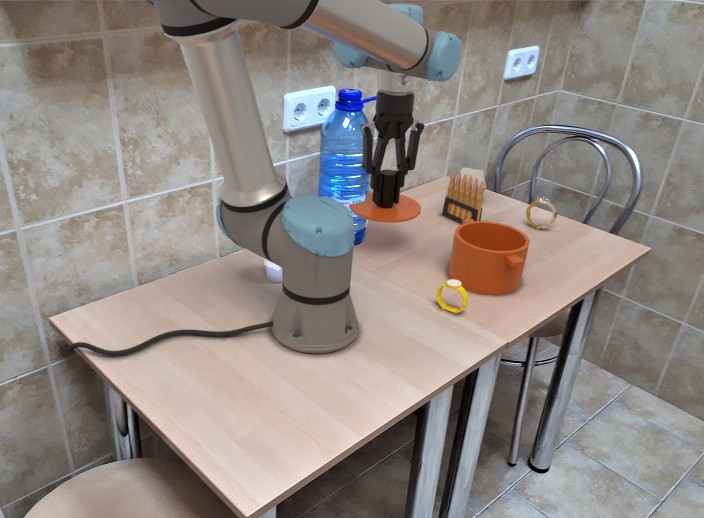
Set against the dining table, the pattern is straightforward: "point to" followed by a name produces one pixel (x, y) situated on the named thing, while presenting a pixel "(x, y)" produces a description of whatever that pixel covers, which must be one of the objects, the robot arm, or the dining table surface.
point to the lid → (387, 203)
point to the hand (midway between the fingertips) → (385, 201)
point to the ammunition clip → (463, 199)
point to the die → (473, 176)
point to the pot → (488, 257)
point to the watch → (452, 285)
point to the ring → (538, 202)
